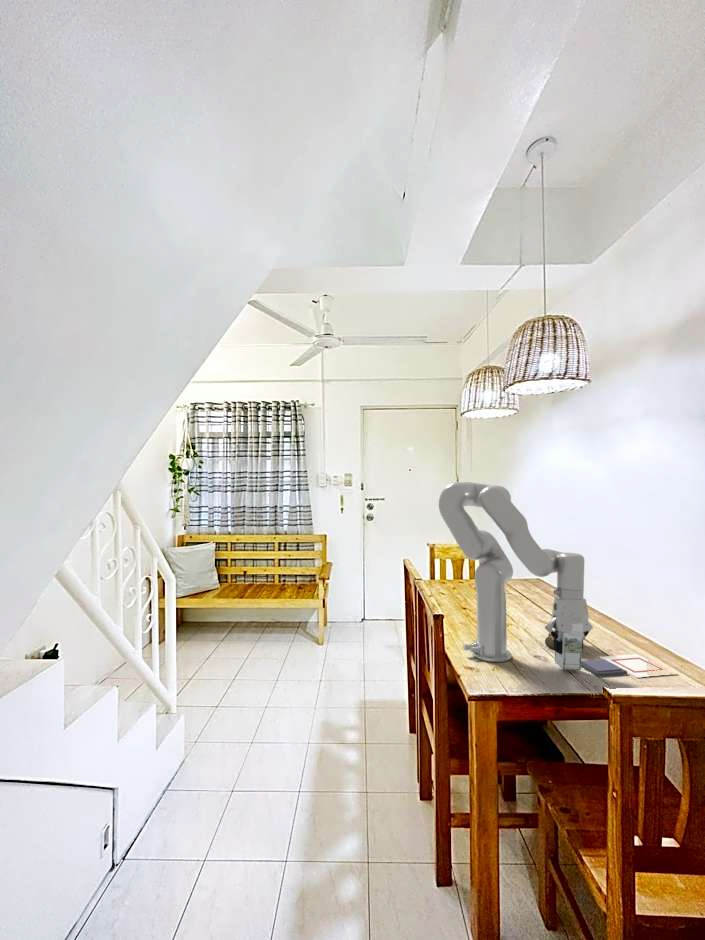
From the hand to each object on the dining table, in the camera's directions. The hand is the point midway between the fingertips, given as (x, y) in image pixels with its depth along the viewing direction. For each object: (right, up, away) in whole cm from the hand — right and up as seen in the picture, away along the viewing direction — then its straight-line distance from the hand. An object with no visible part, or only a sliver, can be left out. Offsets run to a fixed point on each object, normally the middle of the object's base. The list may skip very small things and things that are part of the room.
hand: (568, 651), depth 152 cm
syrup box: (0, -5, 0) cm, 5 cm away
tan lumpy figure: (+9, -7, +24) cm, 26 cm away
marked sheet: (+23, -6, +4) cm, 24 cm away
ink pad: (+11, -6, +1) cm, 12 cm away
